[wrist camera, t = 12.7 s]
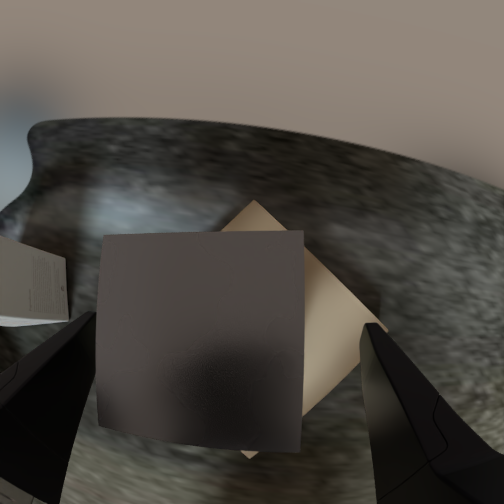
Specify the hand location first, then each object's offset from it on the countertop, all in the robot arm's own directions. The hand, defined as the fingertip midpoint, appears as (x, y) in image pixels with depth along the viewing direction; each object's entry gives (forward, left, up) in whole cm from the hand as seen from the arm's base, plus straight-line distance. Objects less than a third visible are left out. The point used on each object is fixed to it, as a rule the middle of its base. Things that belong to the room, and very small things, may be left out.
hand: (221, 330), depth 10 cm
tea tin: (0, 0, -9) cm, 9 cm away
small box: (+15, +13, -12) cm, 23 cm away
